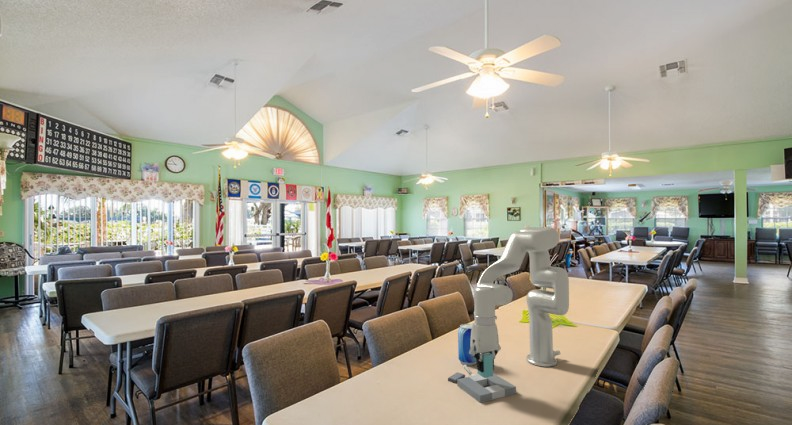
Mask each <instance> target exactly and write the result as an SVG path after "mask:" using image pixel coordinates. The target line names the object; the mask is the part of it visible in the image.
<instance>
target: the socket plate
mask: <svg viewBox="0 0 792 425" xmlns="http://www.w3.org/2000/svg"><path fill="white" fill-rule="evenodd" d="M474 375H475V376H471V375H470V376H467V377H466V376H465V378H461V379H457V383H456V386H457V387H459V388H460V389H461V390H462V391H463V392H465V393H467V394H468V395H469V396H471V397H472V398H473V399H475V400H476V401H477V402H478V403H484V402H485V403H486V402H488V401H493V400H495V399H500V398H504V397H507V396H511V395H514V394H517V386H515V385H514V384H513V383H511V382H509V381H507V380H506V379H504V378H502V377H501V376H498V375H497V374H495V373H494V372H493V376H491V377H487V378H484V377H482V376H480V375H479V374H474ZM485 386H486V387H485Z"/></svg>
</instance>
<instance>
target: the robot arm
mask: <svg viewBox="0 0 792 425" xmlns="http://www.w3.org/2000/svg"><path fill="white" fill-rule="evenodd" d="M559 242H560V234H559V232H558V230H557V229H555V228H554V227H536V226H535V227H533V226H532V227H529V226H528V227H524V228H520V229H519V231H514V232H512V233H511V234H510V235H509V238H508V240H507V241H506V245H505V246H504V248H503V251H502V253H501V255H500V258H499V259H498V260H497V261H495V262H494V263H492V264H491V265H490V266H489V267H487V268H486V269H485V270H484V271H483V272H482V273H481V275H480V278H479V280H478V282H477V283H476V284H477V285H476V287H475V289H474V292H473V293H474V295H473V296H474V299H473V300H474V302H473V303H474V304H473V306H474V323H472V324H471V325H472V330H471V341H470V347H471V349H470V351H469V354H471V355H472V356H474V357H475V359H477V362H476V369H477V370H476V371H478V370H479V371H480V372H484V367H483V361H482V358H483V353H485V352H490V353H492V354H493V371H495V367H494V366H495V359H496V357H497V354H498V353H499V352H500V350H501V349H502V346H501V345H500V343H499V340H500V339H499V338H500V337H499V330H498V325H497V323H496V320H497V318H498V316H497V315H496V306H506V305H508V304H510V303H511V302H512V300H513V296H514V295H513V291H512V289H511V288H510V287H509V286H507V285H503V284H499V283H494V282H495V281H496V280H497V279H499V278H500V277H502V276H505V275H508V274H511V273H514V272H516V271H519V269H520V268H521V265H522V264H523V261H524V259H525V256H526V254H527V253H528V256H529V280H530V283H531V285H533V286H535V287H538V288H543V289H531V290H529V291H528V293H527V294H526V300H525V301H526V305H527V311H528V317H529V318H528V319H529V320H528V321H529V323H528V325H529V354H527V355H526V357H525V358H526V361H527V363H529V364H532V365H535V366H536V367H537V366H538V367H545V368H546V367H547V368H548V367H549V368H550V367H555V366H556V365H557V364H558V360H557V359H556V358H555V357H556V356H559V355H561V351H560V350H554V342H553V340H554V338H553V335H554V334H553V321H552V318H551V316H550V315H555V316H566V314H567V313H568V312H569V310H570V309H569V308H570V282H569V279H570V278H569V274H568V272H567V271H566V269H564V268H563V267H558V266H551V255H550V253H549V250H551V249H554V248H555V247H556V246H558V244H559ZM545 288H546V289H550V290H551V289H552V290H553V291H552V290H551V291H550V290H545ZM475 350H476V353H475Z"/></svg>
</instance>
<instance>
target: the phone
mask: <svg viewBox="0 0 792 425" xmlns="http://www.w3.org/2000/svg"><path fill="white" fill-rule="evenodd" d="M461 378H466V374H464V373H461V372H455V373H454V374H452V375H450V376H449V377H448V378H447V381H448V382H450V383H454V384H457V379H461Z"/></svg>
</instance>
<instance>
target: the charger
mask: <svg viewBox="0 0 792 425" xmlns="http://www.w3.org/2000/svg"><path fill="white" fill-rule="evenodd" d="M482 361H483V367H484V372H480V371H479V370H477V375H480V376H482V377H484V378H487V377H491V376H493V373H494V370H493V354H492V353H490V352H485V353H483V358H482Z"/></svg>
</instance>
